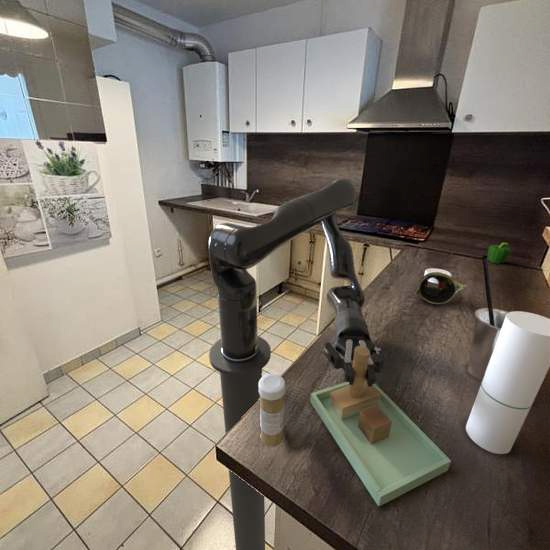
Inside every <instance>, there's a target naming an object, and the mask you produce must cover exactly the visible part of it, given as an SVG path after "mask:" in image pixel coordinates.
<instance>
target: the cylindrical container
mask: <svg viewBox="0 0 550 550" xmlns="http://www.w3.org/2000/svg"><path fill="white" fill-rule="evenodd" d="M508 312H509V313H507V314H506V317H505V320H504V323H503V325H502V328H501V331H500V334H499V336H498V339H497V342H496V345H495V347H494V350H493V353H492V356H491V358H490V361H489V364H488V367H487V369H486V372H485V375H484V378H483V380H482V381H481V383H480V386H479V388H478V392H477V394H476V397H475V400H474V402H473V406H472V408H471V412H470V414H469V416H468V419H467V422H466V425H465V431H466V433H467V435H468V436H469V438H470V439H471V440H472V441H473V443H475V444H476V445H477V446H478V447H480V448H481V449H483V450H485V451H488V452H489V453H492V454H496V455H506V454H508V453H510V452H511V450H512V448H513V446H514V444H515V442H516V440H517V438H518V436H519V433H520V431H521V429H522V427H523V426H524V423H525V420H526V419H527V416H528V415H529V412H530V410H531V408H532V405H533V403H534V401H535V399H536V397H537V395H538V393H539V391H540V388H541V386H542V384H543V382H544V380H545V378H546V375H547V374H548V372H549V370H550V318H549V317H546V316H543V315H540V314H536V313H532V312H527V311H521V310H520V311H519V310H517V311H515V310H514V311H508Z"/></svg>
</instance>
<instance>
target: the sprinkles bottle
mask: <svg viewBox="0 0 550 550" xmlns="http://www.w3.org/2000/svg"><path fill="white" fill-rule="evenodd" d="M285 393H286V382H285V379H284V377H282V376H281V375H279V374H277V373H266V374H264V375H262V378H261V379H260V380H259V394H260V427H261V433H260V439H261V441H262V443H263V446H266V447H268V448H276V447H278V446H280V445H281V444H282V443H283V441H284V439H285V434H284V427H285Z"/></svg>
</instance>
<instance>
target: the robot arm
mask: <svg viewBox="0 0 550 550" xmlns="http://www.w3.org/2000/svg"><path fill="white" fill-rule="evenodd" d="M357 195H358V193H357V188H356V185H355V184H354V183H353V182H352V181H351V180H349V179H346V178H338V179H335V180H334V181H332V182H330V183H328V184H327V185H325V186H323V187H322V188H320V189H319V190H316V191H313V192H310V193H307V194H304V195H301V196H298V197H295V198H292V199H290V200H288V201H286V202H284V203H282V204H281V205H279V206H278V207H277V208H276V209H275V211H274V213H273V215H272V218H271V219H270V220H268V221H266V222H264V223H262V224H259V225H256V226H244V225H240V224H235V223H231V222H223V223H220V224H218V225H216V226H215V227H214V229H213V230H212V231H211V233H210V236H209V239H208V255H209V256H208V257H209V263H210V270H211V272H210V273H211V276H212V277H211V278H212V283H213V284H214V286H215V288H216V295H217V304H218V305H217V306H218V318H219V329H220V339H221V343H222V355H223V357H224V358H225V359H226V360H228V361H230V362H234V363H242V362H247V361H249V360H251V359H253V358H254V357H255V356H256V355H257V354H258V347H259V341H258V336H259V335H258V334H259V333H258V298H257V295H258V293H257V291H258V290H257V281H256V279H255V278H254V277H253V275H251V273H250V272H249V271H248V270H249V269H252V268H253V267H256V266H257V265H258V264H259V263H261V262H262V261H263V260H266V258H268V257H269V256H270V255H271V254H273V253H274V252H275V251H276V250H278V249H279V248H281V247H282V246H285V245H286V244H287V243H289V242H291V241H293V240H294V239H296V238H297V237H300V236H301V235H304V234H305V233H307V232H309V231H310V230H312V229H313V228H314V227H316V226H317V225H319V224H321V225H322V228H323V233H324V237H325V240H326V244H327V250H328V251H327V252H328V258H329V259H328V261H329V269H330V275H331V277H332V278H333V279H337V280H344V281H346V282H348V284H349V285H340V286H332V287H331V288H329V290H328V291H327V293H326V301H327V304H328V307H329V308H330V310H331V311H332V313H333V314H334V320H335V321H334V331H335V340H336V341H334V343H330V342H329V341H326V342H325V343H324V348H323V349H324V350H323V353H324V355H325V356H326V358H327V359H328V361H329V362H330V364H331V365H332V366H333V368H334V369H336V370H340V369H342V371H343V373H344V380H345V382H349V385H353V383H354V372H353V367H352V365H353V363H352V362H353V357H354V350H355V348H356V347H357V346H364V347H366V348H368V349H369V351H370V355H369V361H368V367H367V374H366V380H367V385H368V387H372V384H376V379H377V376H376V374H378V373H381V371H382V369H383V367H384V364H385V361H386V360H387V355H388V349H389V348H388V347H387V346H381V348H379V347H376V346H375V343H373V342H372V340H371V336H370V331H369V329H368V328H369V326H368V324H367V321H366V319H365V317H364V314H363V311H362V308H363V306H364V304H365V302H366V298H365V294H364V291H363V289H362V287H361V283H360V282H359V279H358V277H357V273H356V269H355V259H354V253H353V248H352V245H351V244H350V242H349V239H347V237H346V236H345V235H344V234H343V233H342V231H341V230H340V228H339V226H338V221H337V214H339V213H340V212H342V211H344V210H347V209H349V208H351V207H352V206H353V205H354V204H355V202H356V200H357ZM373 354H375V355H374V356H375V357H376V359H375V361H373V359H372V357H371V356H372V355H373ZM342 357H343V358H342Z"/></svg>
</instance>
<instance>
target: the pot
mask: <svg viewBox="0 0 550 550" xmlns="http://www.w3.org/2000/svg"><path fill="white" fill-rule="evenodd" d="M430 278H434V279H436V280H437V281H438V284H437V289H438V290H439V289H441V290H440V291H439V292H438V293H437V294H435V295H432V294H431V293H429V292H428V291H427V288H428V280H429V279H430ZM469 286H470V284H465V283H461V282H459V281H458V280H455V278H453V277H450V276H449V275H447V274H444V273H441V272H432V273H428V274H426V275H425V276H424V275H423V276H422V277H421V278H420V279H419V281H418V283H417V286H416V287H415V289H414V290H413V292H412V294H415V295H417V296H420V298H422V299H423V300H424V301H426V302H428V303H430V304H435V305H442V304H446V303H448V302H450V301H452V299H454V297H455V296H456V294H457V293H458V292H459V291H460V290H463V289H464V287H469Z"/></svg>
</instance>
